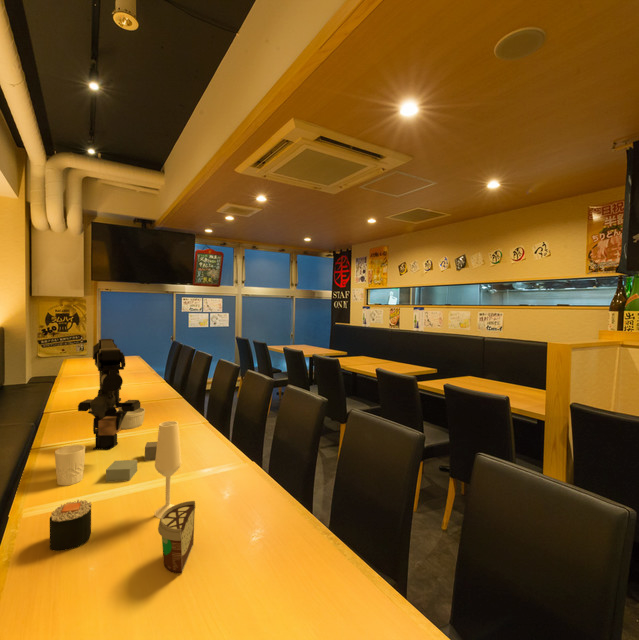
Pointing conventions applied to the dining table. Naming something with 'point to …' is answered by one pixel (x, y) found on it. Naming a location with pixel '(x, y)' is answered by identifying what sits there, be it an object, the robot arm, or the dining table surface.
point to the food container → (177, 535)
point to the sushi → (70, 525)
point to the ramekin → (133, 419)
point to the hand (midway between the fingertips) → (109, 429)
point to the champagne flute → (167, 457)
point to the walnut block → (107, 426)
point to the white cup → (69, 464)
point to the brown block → (150, 451)
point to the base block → (121, 470)
